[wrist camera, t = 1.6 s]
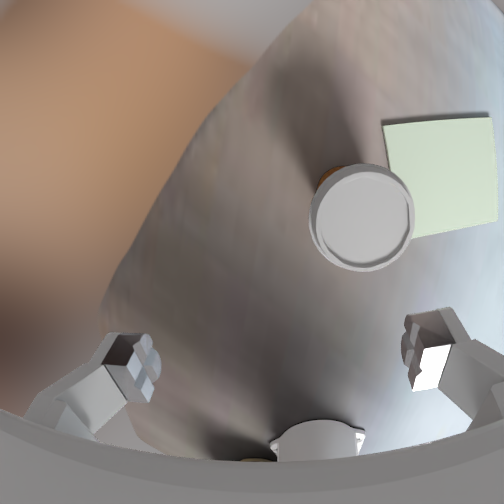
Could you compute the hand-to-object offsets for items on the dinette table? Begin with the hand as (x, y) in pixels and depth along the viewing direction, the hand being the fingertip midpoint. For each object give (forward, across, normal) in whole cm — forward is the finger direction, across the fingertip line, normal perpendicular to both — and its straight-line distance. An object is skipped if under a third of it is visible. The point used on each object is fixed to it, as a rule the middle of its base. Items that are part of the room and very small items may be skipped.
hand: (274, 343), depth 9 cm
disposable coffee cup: (+29, +6, -5) cm, 30 cm away
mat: (+28, +20, -3) cm, 35 cm away
